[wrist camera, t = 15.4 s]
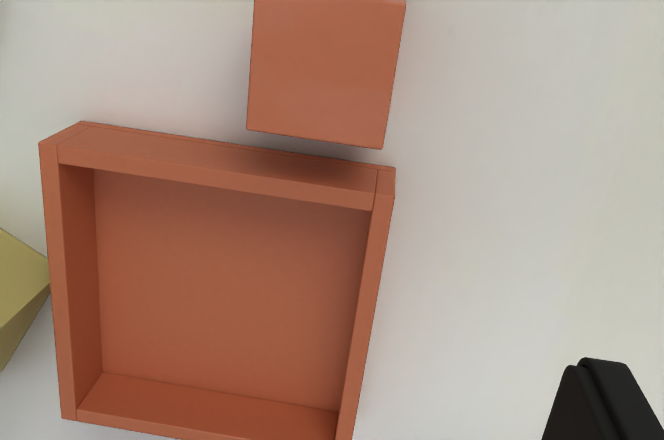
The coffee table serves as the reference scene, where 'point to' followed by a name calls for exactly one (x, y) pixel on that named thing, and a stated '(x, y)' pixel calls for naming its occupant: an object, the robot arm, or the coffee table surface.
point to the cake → (19, 291)
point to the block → (324, 68)
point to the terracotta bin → (210, 283)
